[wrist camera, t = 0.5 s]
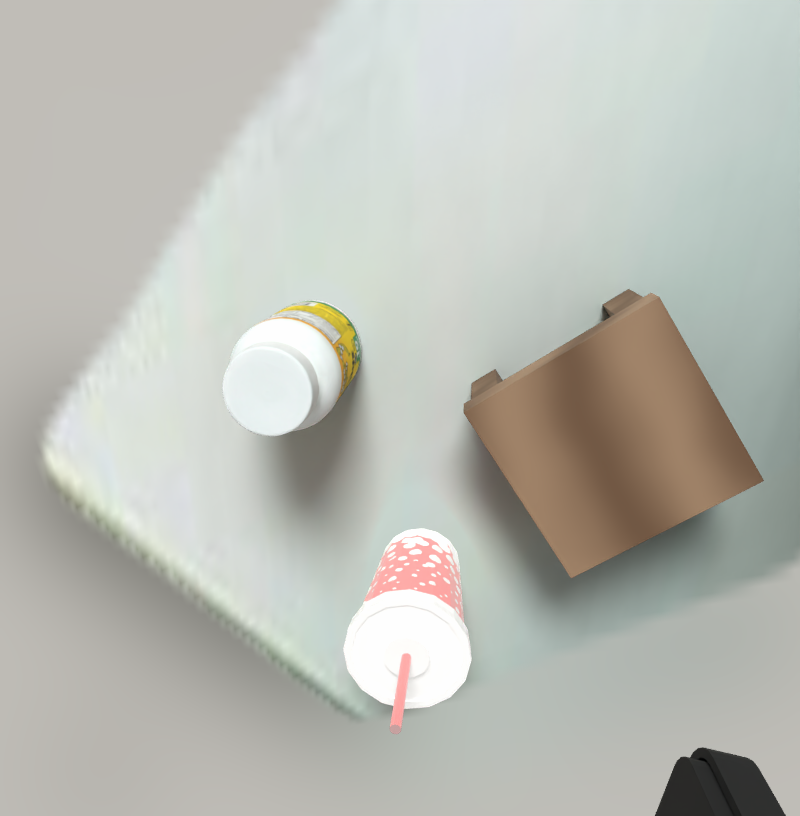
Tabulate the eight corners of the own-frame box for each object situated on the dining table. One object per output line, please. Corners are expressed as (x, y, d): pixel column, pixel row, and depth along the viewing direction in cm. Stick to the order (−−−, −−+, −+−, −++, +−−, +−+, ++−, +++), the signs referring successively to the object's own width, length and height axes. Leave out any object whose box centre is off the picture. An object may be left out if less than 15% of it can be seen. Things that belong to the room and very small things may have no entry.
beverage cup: (394, 499, 42) (355, 640, 28) (490, 542, 42) (496, 703, 28) (354, 583, 43) (299, 753, 30) (445, 624, 43) (432, 812, 30)
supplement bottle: (298, 280, 39) (242, 304, 29) (381, 333, 39) (352, 373, 30) (251, 361, 40) (185, 408, 31) (332, 412, 40) (290, 473, 31)
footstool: (630, 282, 37) (659, 296, 31) (721, 439, 39) (764, 481, 33) (465, 381, 39) (463, 412, 33) (557, 525, 41) (571, 578, 35)
